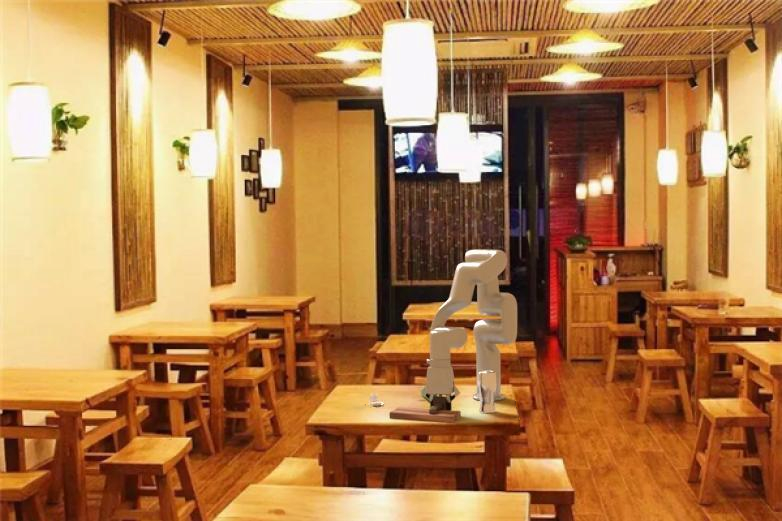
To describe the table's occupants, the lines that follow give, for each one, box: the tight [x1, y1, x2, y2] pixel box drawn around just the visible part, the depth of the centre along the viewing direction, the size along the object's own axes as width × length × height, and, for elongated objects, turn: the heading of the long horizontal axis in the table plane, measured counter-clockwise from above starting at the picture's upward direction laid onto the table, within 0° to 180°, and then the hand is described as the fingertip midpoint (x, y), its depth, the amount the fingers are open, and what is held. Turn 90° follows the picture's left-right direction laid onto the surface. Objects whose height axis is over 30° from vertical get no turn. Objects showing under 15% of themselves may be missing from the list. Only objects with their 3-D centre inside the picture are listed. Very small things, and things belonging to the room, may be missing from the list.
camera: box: [428, 395, 447, 414], centre depth 356 cm, size 12×5×7 cm, turn 159°
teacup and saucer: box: [369, 393, 385, 407], centre depth 380 cm, size 9×8×4 cm
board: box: [389, 406, 462, 423], centre depth 355 cm, size 10×24×2 cm, turn 69°
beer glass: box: [478, 370, 496, 414], centre depth 363 cm, size 7×7×15 cm
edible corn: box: [420, 384, 438, 401], centre depth 388 cm, size 5×20×5 cm, turn 8°
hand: (440, 411), depth 361 cm, fingers closed on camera, 5 cm apart
